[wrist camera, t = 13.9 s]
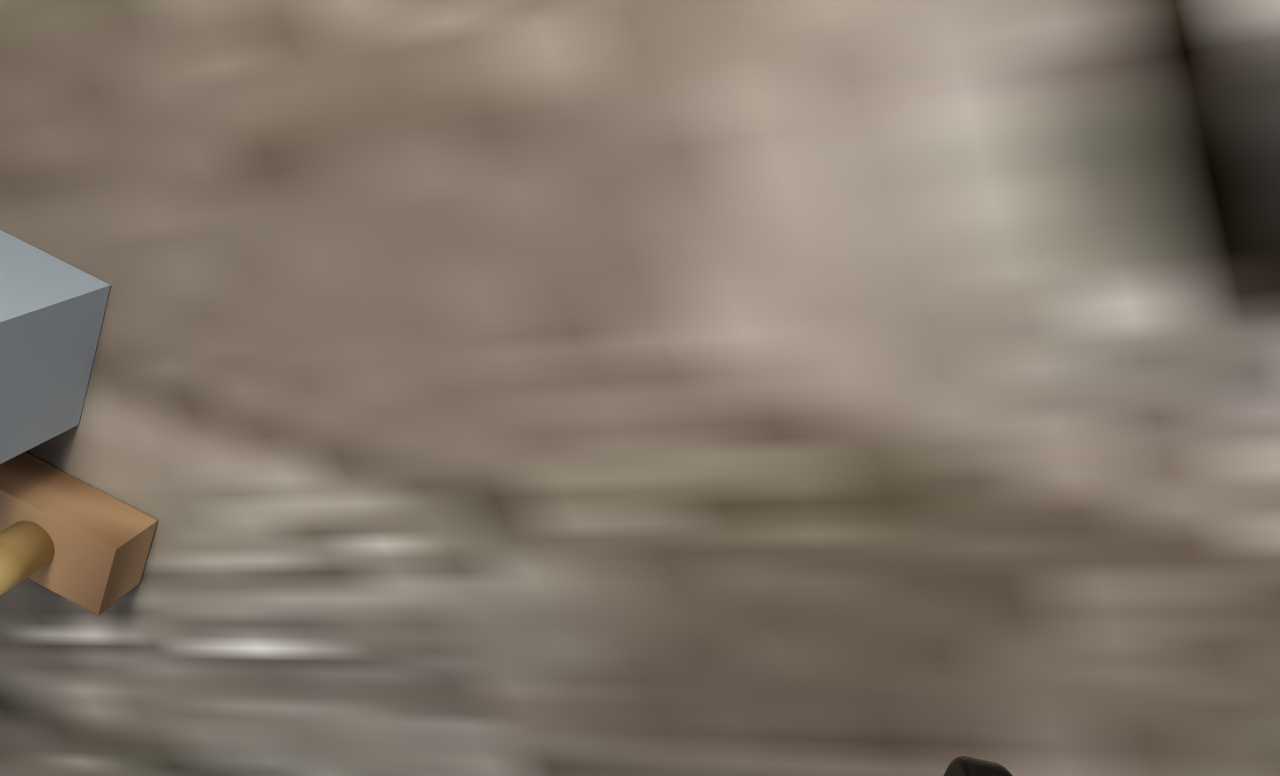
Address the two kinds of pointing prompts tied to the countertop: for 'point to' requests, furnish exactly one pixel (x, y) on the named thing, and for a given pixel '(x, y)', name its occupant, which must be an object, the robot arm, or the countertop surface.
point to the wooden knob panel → (68, 535)
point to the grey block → (44, 343)
